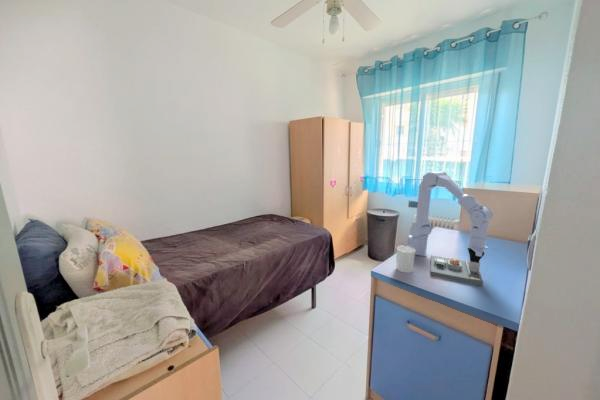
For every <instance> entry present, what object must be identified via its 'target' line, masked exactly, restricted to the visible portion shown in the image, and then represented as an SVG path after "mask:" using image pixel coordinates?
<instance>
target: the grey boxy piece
mask: <svg viewBox="0 0 600 400" xmlns="http://www.w3.org/2000/svg"><path fill="white" fill-rule="evenodd" d="M468 262H469V269H470V272H472V273H477V272H478V271H480V268H481V262H480V261H479V262H475V261H470V260H469V261H468Z"/></svg>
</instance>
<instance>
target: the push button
mask: <svg viewBox="0 0 600 400" xmlns="http://www.w3.org/2000/svg"><path fill="white" fill-rule="evenodd" d="M450 259H451V264H454V265H458V264H459V258H458V259H457V258H450Z"/></svg>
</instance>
